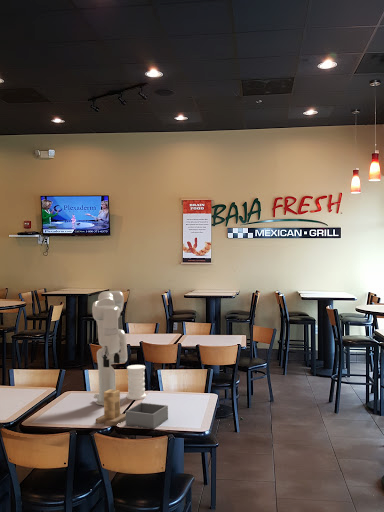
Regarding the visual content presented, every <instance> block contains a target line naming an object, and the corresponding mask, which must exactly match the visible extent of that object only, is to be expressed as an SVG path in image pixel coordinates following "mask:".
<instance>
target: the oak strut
mask: <svg viewBox="0 0 384 512" xmlns="http://www.w3.org/2000/svg"><path fill="white" fill-rule="evenodd" d="M103 411H104V412H103V415H104V418H109V419H115V418H117V417H119V416H120V414H121V390H120V389H119V390H118V389H116V390H112V389H110V390H108V391H105V392H104V406H103Z"/></svg>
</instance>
